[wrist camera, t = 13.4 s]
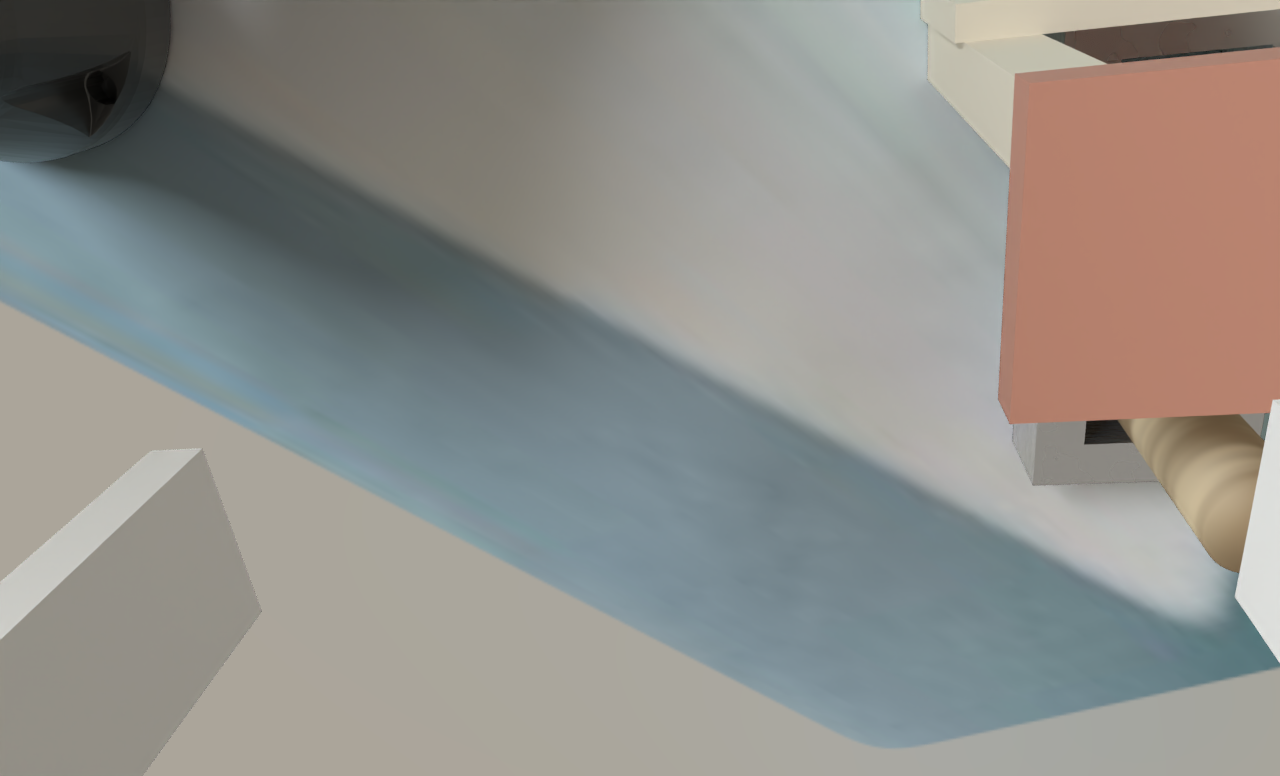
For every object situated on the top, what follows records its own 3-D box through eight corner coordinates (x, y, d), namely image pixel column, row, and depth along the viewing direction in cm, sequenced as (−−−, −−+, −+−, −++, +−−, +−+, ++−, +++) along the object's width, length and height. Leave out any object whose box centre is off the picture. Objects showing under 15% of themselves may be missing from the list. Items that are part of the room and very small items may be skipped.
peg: (1076, 388, 44) (1195, 574, 32) (1084, 316, 43) (1212, 483, 30) (1159, 385, 44) (1313, 573, 31) (1170, 312, 42) (1337, 481, 30)
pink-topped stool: (918, 228, 42) (1010, 424, 26) (920, -14, 38) (1031, 42, 22) (1371, 193, 39) (1788, 390, 23) (1429, -73, 35) (1992, -59, 19)
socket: (1012, 440, 46) (1032, 485, 42) (1022, 264, 42) (1046, 296, 38) (1214, 432, 44) (1252, 478, 41) (1244, 248, 41) (1290, 280, 37)
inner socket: (1025, 220, 41) (1049, 249, 38) (1039, -3, 37) (1067, 6, 34) (1252, 203, 40) (1299, 231, 36) (1290, -31, 36) (1347, -25, 32)
